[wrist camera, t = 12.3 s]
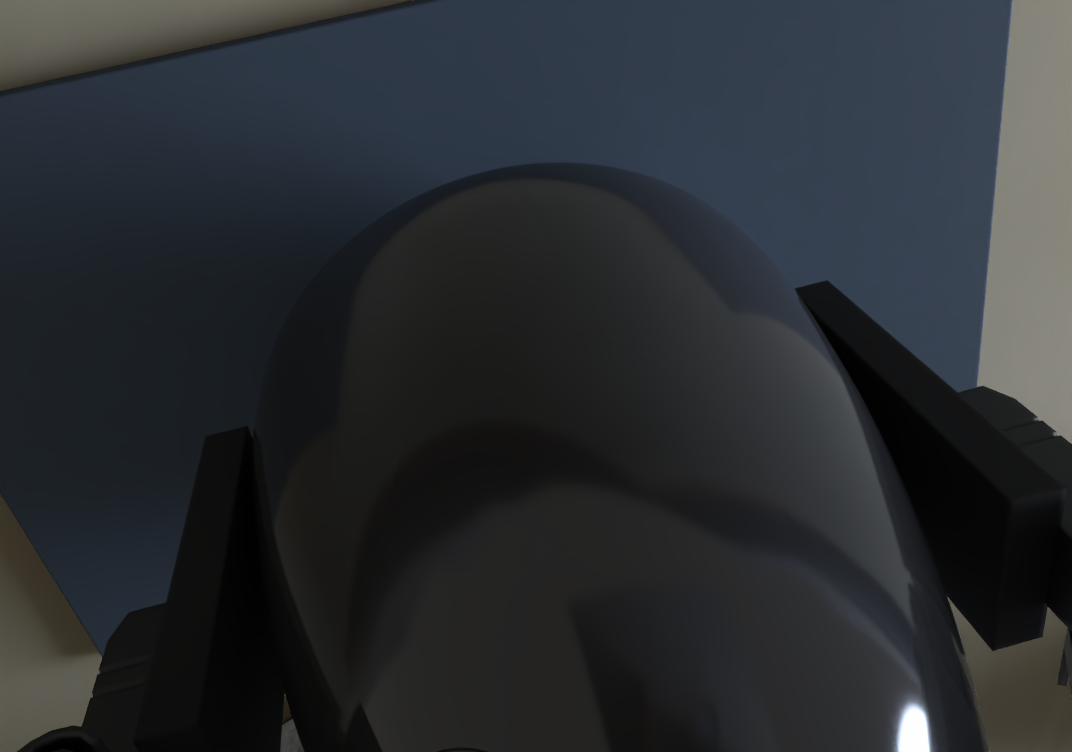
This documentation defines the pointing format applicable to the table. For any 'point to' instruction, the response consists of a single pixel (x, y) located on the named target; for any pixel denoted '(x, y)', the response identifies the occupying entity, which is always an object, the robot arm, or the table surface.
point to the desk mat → (423, 164)
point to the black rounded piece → (587, 493)
